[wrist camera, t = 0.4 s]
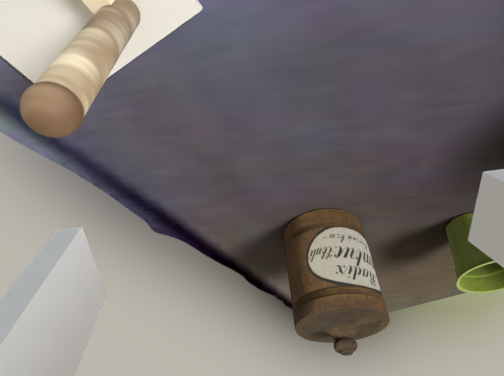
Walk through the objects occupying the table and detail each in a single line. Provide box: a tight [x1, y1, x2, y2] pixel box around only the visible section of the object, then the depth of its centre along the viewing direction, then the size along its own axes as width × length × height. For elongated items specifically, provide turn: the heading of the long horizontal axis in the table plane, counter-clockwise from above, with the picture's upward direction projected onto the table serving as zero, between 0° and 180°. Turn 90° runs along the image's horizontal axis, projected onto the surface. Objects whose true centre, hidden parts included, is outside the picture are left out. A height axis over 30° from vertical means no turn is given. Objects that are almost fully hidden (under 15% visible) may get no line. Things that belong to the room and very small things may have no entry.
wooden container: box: [284, 209, 389, 355], centre depth 56 cm, size 15×15×22 cm
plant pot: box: [446, 213, 504, 293], centre depth 58 cm, size 12×12×11 cm
